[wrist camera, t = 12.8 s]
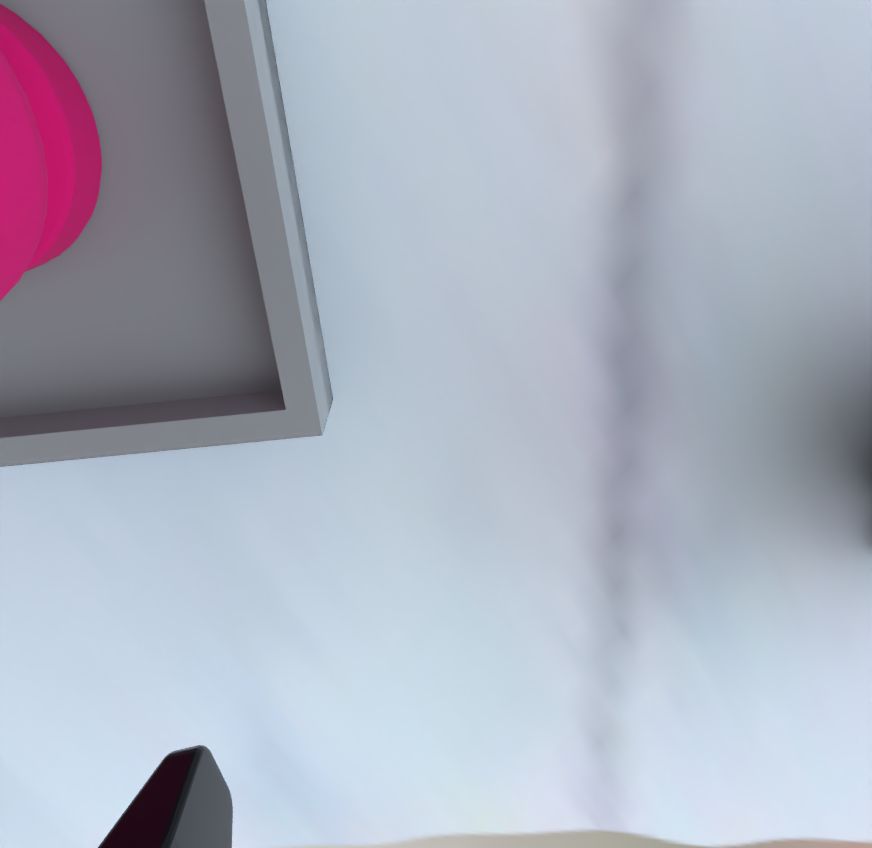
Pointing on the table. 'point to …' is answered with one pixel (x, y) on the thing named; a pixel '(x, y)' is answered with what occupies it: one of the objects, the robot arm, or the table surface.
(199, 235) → the tray
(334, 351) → the table surface
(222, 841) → the robot arm
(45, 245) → the pepper mill
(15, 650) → the table surface
